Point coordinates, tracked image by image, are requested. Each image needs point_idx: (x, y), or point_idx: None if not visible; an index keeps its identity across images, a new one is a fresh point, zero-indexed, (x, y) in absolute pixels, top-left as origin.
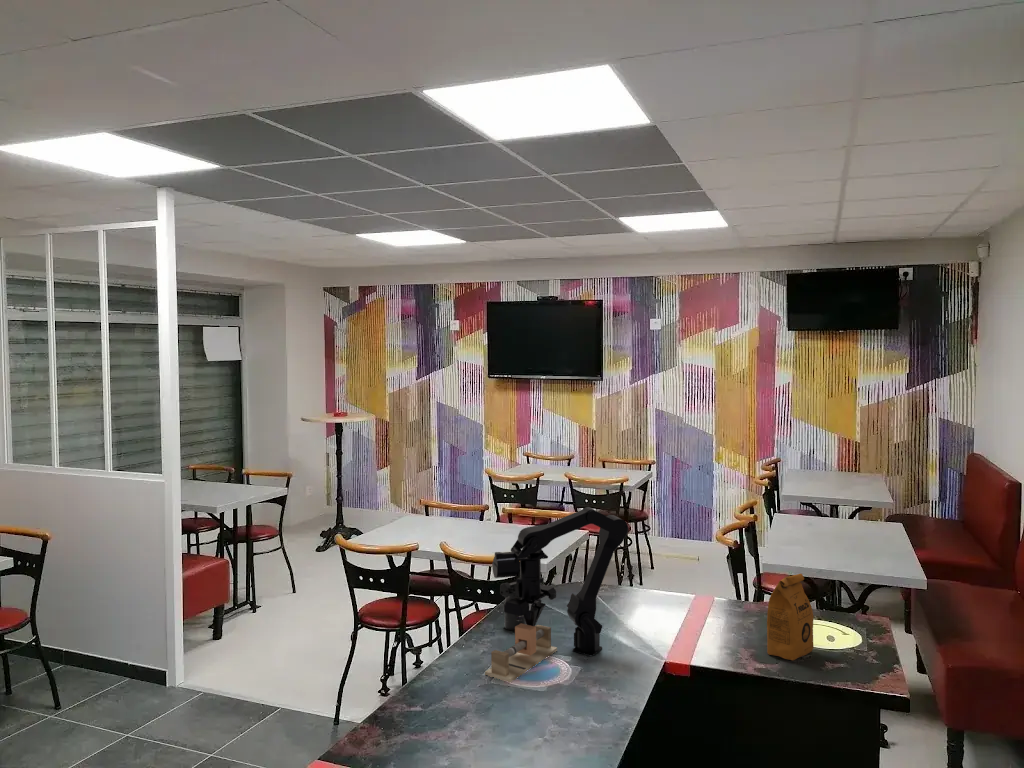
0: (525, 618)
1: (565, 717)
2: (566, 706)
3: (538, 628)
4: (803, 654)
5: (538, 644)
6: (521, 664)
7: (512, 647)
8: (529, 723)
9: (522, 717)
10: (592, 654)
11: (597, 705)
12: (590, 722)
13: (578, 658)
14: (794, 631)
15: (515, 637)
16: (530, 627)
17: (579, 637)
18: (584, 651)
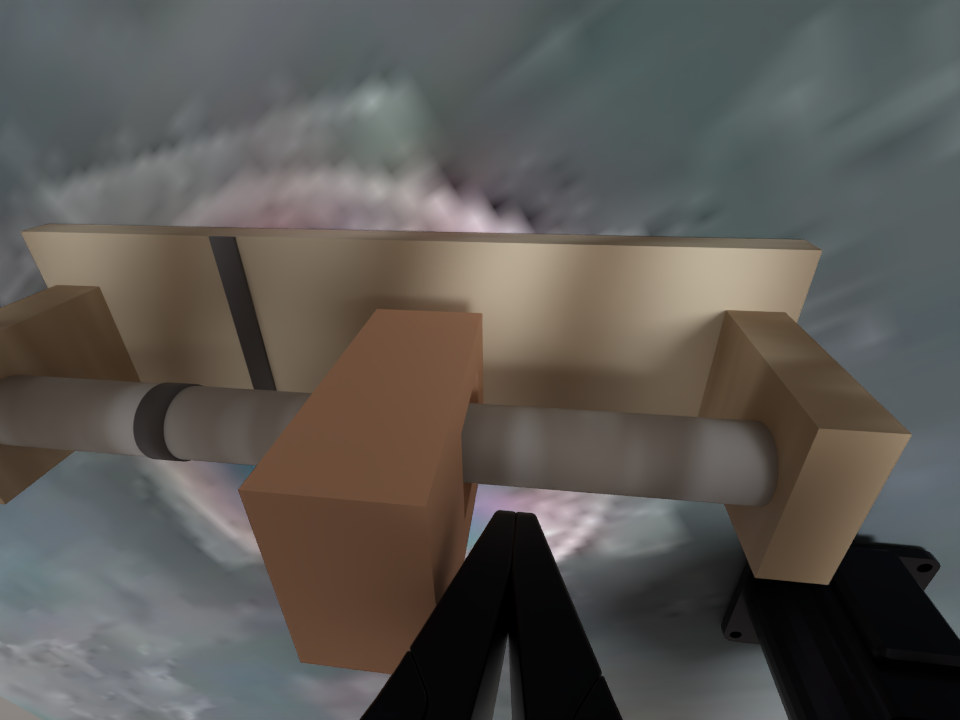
0: (394, 686)
1: (140, 660)
2: (196, 648)
3: (789, 464)
4: None
5: (721, 354)
6: None
7: (146, 451)
8: (6, 597)
9: (4, 570)
10: (727, 637)
11: (284, 706)
12: (184, 707)
13: (662, 581)
14: None
15: (317, 391)
16: (377, 644)
17: (806, 676)
18: (748, 608)
